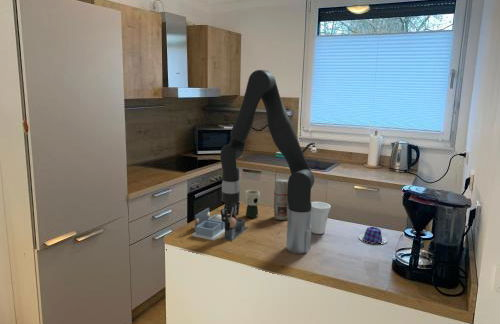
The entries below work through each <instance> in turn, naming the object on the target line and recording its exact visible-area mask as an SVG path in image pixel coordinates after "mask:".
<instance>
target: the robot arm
mask: <svg viewBox="0 0 500 324" xmlns="http://www.w3.org/2000/svg"><path fill="white" fill-rule="evenodd" d="M260 100H261V101H262V103H263V106H264V108H265V113H266V114H265V115H266V122H267V126H268V130H269V133H270V136H271V138H272V141H273V143H274V144H275V147H276V148H277V149H278V151H279V152H280V154H281V155H282V156H283V158H284V159H285V161H286V162H287V165H288V167H289V170H290V176H289V178H288V179H287V180H288V192H287V201H288V219H287V225H286V226H287V228H286V229H287V230H286V244H285V245H286V248H285V249H286V250H287V251H289V252H290V253H294V254H307V253H308V252H309V251H310V249H311V243H312V239H311V238H312V232H311V228H312V227H311V224H310V222H311V207H312V204H311V202H312V201H311V195H312V193H311V191H312V188H313V186H314V183H315V177H314V173H313V171H312V170H311V169H312V168H311V167H310V166H309V164H308V162H307V159H306V158H305V156H304V153H303V151H302V148H301V145H300V142H299V140H298V137H297V133H296V131H295V128H294V126H293V123H292V121H291V118H290V116H289V113H288V111H287V110H286V108H285V106H284V104H283V100H282V97H281V96H280V91H279V87H278V85H277V81H276V78H275V76H274V75H273V73H272V72H271V71H268V70H265V69H257V70H255V71H253V72H252V73H250V75H249V77H248V80H247V84H246V89H245V93H244V96H243V99H242V103H241V106H240V109H239V112H238V114H237V117H236V118H235V121H234V124H233V126H232V128H231V131H230V139H229V142H228V144H226V145H224V146H223V147H222V148H221V150H220V153H219V155H220V158H219V159H220V163H221V164H220V165H221V169H222V181H221V201H222V203H224V205H223V207H224V208H223V209H220V215H221V218H222V222H225V230H227V231H229V230H230V219H231V217H233V218H235V220H237V217H238V216H239V212H240V206H241V205H240V204H241V203H240V191H241V188H240V168H239V167H238V166H237V159H239V158H240V157H241V156H242V154H243V152H244V149H245V144H246V141H247V138H248V136H249V133H250V132H251V129H252V126H253V124H254V121H255V116H256V112H257V108H258V105H259V104H260ZM228 217H229V218H228ZM235 226H236V225H235ZM235 226H234V227H235Z"/></svg>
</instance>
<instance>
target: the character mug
mask: <svg viewBox="0 0 500 324" xmlns="http://www.w3.org/2000/svg"><path fill="white" fill-rule="evenodd" d="M260 193H261V192H260V191H259V190H257V189H256V190H255V189H247V190H245V199H244V200H245V201H244V203H245V205H247V206H246V211H245V216H246V217H249V218H257V217H258V216H259V208H258V206H259V204H260V196H261V194H260Z"/></svg>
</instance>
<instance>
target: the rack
mask: <svg viewBox="0 0 500 324" xmlns="http://www.w3.org/2000/svg"><path fill="white" fill-rule="evenodd" d="M217 215H219V214H217V213H216V214H214V215H212V216H209V219H207V221H204V222H202V223H201V224H199V225H198V226H196V232H195V231H194V232H193V233H192V234H191V236H192V237H195V238H201V239H204V240H209V241H216V240H217V239H218V238H219V237H221V236H222V235H223V234H224V235H225V222H221V221H216V220H214V218H215V216H217Z"/></svg>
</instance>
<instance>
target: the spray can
mask: <svg viewBox="0 0 500 324" xmlns="http://www.w3.org/2000/svg"><path fill="white" fill-rule="evenodd" d="M288 180H289V179H279V178H278V179H277V178H276V179H275V183H274V192H273V194H274V195H273V197H274V198H273V201H274V202H273V205H274V206H273V207H274V208H273V214H274V215H273V216H274V217H273V218H274V219H275V220H277V221H278V220H279V221H288V201H287V192H288Z"/></svg>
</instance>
